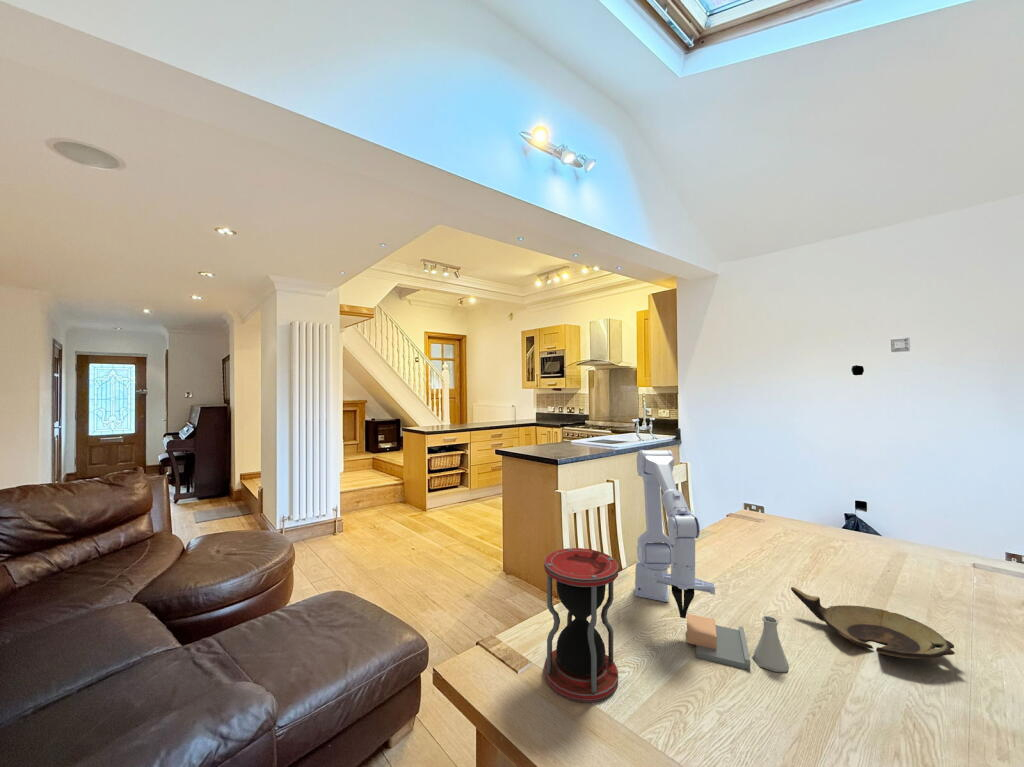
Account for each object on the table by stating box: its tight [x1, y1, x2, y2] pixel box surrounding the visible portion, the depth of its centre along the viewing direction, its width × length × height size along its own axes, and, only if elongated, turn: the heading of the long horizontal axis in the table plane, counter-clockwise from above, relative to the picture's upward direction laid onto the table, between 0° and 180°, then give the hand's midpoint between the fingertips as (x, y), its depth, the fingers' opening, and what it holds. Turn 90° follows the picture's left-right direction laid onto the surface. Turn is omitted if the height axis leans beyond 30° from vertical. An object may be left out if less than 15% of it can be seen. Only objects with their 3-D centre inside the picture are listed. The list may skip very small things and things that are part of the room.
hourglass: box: [543, 547, 619, 703], centre depth 91 cm, size 16×16×25 cm
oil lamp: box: [790, 586, 956, 660], centre depth 104 cm, size 22×30×8 cm
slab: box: [686, 613, 717, 649], centre depth 103 cm, size 3×8×6 cm
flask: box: [752, 615, 790, 673], centre depth 95 cm, size 7×7×10 cm
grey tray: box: [695, 624, 751, 671], centre depth 101 cm, size 11×14×2 cm
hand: (682, 615), depth 104 cm, fingers closed
